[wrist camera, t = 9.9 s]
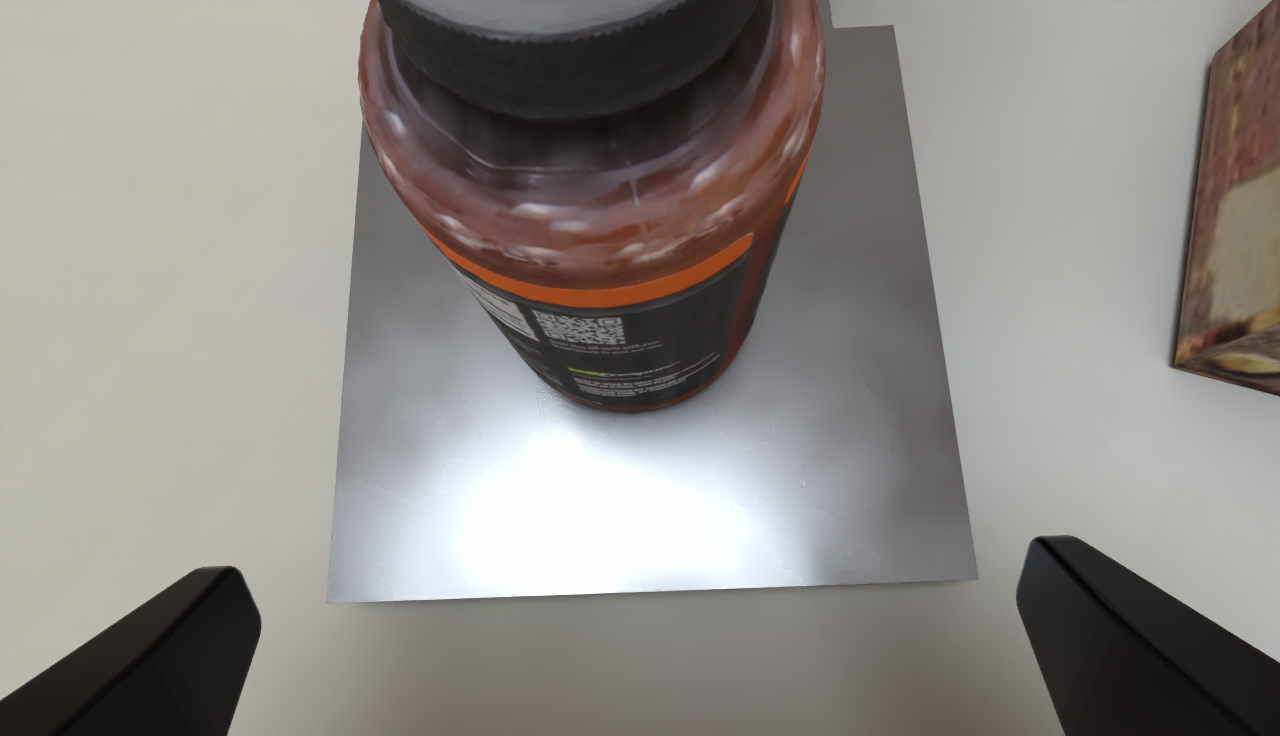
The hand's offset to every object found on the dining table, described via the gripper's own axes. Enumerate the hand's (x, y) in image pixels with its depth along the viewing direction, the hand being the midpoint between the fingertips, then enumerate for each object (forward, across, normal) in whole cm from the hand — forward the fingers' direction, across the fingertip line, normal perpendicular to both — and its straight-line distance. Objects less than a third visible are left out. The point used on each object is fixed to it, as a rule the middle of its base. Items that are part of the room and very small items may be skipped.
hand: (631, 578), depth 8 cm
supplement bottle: (+10, 0, +1) cm, 10 cm away
